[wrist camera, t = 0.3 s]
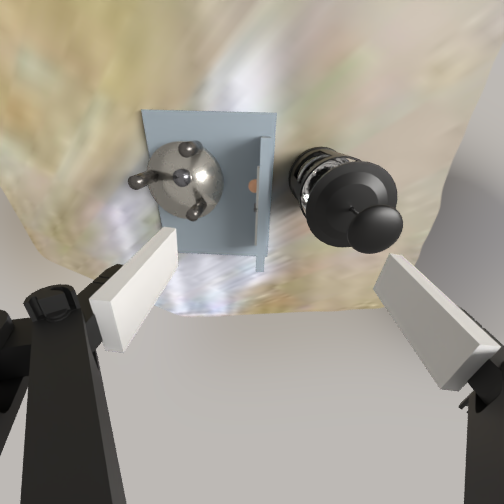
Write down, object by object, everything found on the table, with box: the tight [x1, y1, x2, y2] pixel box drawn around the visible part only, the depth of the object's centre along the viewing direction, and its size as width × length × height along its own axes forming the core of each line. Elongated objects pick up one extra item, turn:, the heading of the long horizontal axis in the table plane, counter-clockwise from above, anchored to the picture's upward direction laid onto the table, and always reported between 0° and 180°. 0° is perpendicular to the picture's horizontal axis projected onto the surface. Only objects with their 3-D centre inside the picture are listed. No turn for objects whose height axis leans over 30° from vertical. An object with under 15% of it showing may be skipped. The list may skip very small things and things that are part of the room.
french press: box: [289, 147, 403, 254], centre depth 28 cm, size 12×9×23 cm
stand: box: [141, 110, 277, 272], centre depth 35 cm, size 24×20×11 cm
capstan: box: [128, 140, 224, 222], centre depth 34 cm, size 12×12×8 cm
